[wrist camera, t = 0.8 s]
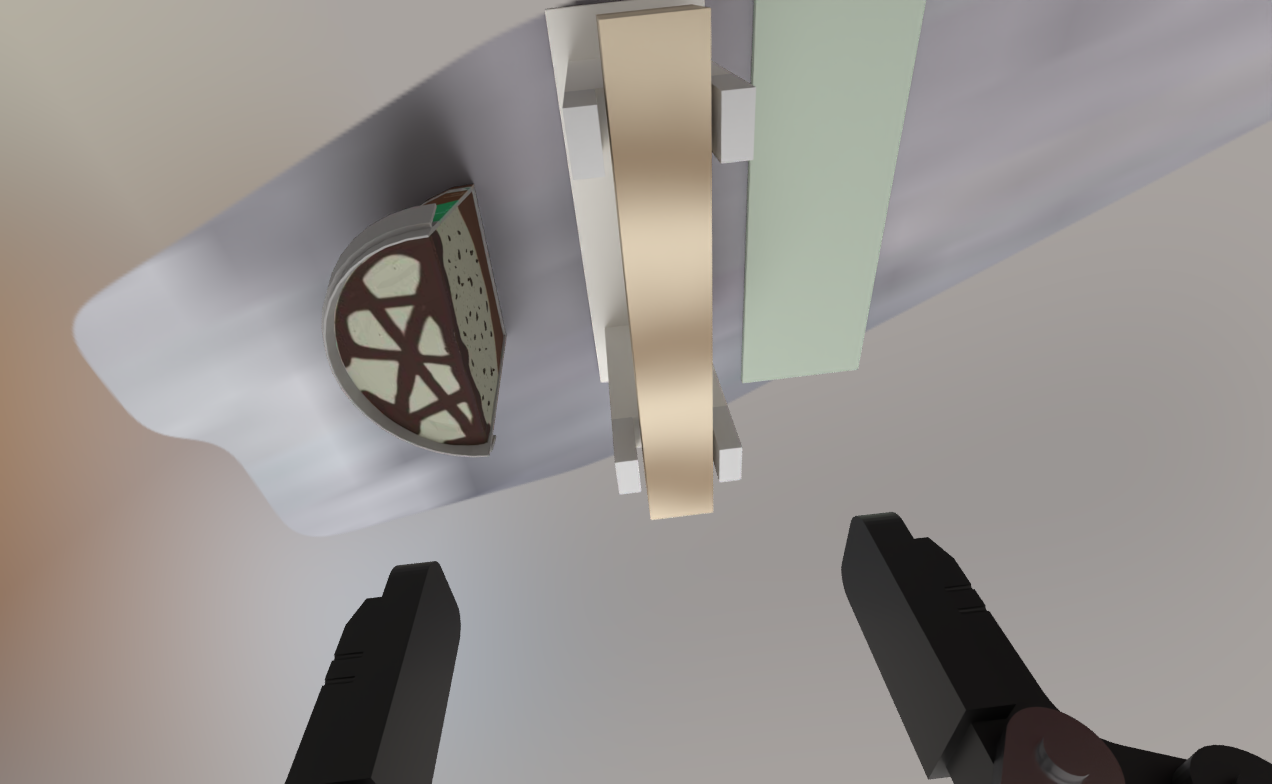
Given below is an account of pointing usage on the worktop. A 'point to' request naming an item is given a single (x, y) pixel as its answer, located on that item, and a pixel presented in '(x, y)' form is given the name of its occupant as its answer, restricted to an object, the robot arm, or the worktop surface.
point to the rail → (665, 238)
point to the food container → (420, 326)
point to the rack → (599, 222)
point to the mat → (821, 176)
